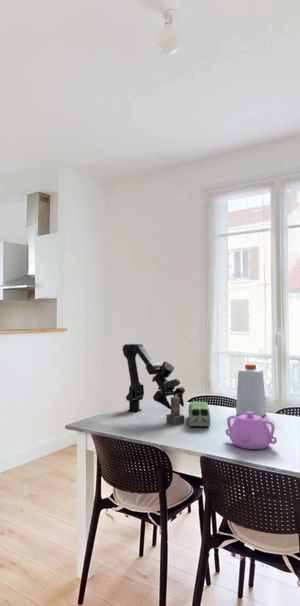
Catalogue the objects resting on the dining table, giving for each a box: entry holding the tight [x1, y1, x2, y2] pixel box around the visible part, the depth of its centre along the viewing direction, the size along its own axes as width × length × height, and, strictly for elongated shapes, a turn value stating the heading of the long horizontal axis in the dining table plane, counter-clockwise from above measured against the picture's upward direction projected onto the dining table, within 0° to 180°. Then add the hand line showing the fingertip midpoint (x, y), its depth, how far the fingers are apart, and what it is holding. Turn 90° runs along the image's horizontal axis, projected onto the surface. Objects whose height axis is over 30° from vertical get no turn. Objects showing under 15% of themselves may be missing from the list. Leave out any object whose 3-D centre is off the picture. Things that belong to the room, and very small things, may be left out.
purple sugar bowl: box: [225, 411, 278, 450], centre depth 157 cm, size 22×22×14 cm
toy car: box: [188, 401, 211, 428], centre depth 195 cm, size 11×25×10 cm, turn 175°
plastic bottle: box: [235, 363, 267, 418], centre depth 213 cm, size 15×15×28 cm
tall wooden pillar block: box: [165, 396, 185, 426], centre depth 194 cm, size 7×6×13 cm
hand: (177, 407), depth 193 cm, fingers open, 9 cm apart
